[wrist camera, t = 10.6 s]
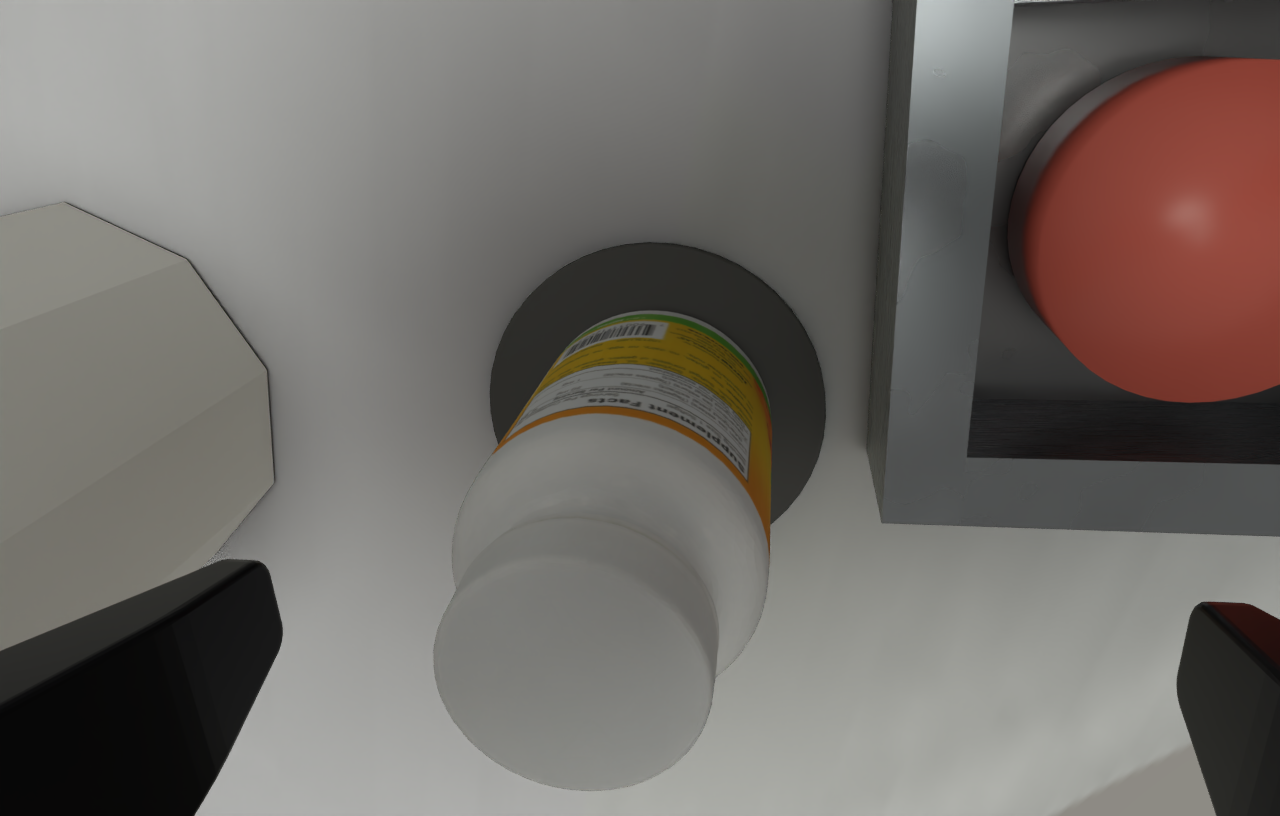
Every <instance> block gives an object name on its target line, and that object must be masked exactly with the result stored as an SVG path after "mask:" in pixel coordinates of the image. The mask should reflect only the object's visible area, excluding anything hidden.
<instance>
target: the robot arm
mask: <svg viewBox="0 0 1280 816" xmlns="http://www.w3.org/2000/svg"><path fill="white" fill-rule="evenodd" d="M282 636H283V627H282V621H281V617H280V613H279V609H278V605H277V601H276V597H275V593H274V588H273V584H272V580H271V576H270V573H269V570H268V569H267V567H266V566H265V565H264V564H263V563H261V562H260V561H256V560H236V559H226V560H221V561H218V562H216V563H213V564H211V565H208V566H206V567H204V568H201V569H199V570H196V571H194V572H191V573H189V574H187V575H184V576H182V577H179V578H177V579H174V580H172V581H169V582H167V583H165V584H162V585H160V586H157V587H155V588H152V589H150V590H147V591H145V592H143V593H140V594H138V595H135V596H133V597H130V598H128V599H125V600H123V601H121V602H118V603H116V604H113V605H111V606H108V607H106V608H104V609H101V610H99V611H96V612H94V613H91V614H89V615H86V616H84V617H82V618H79V619H77V620H74V621H72V622H69V623H67V624H64V625H62V626H60V627H57V628H55V629H52V630H50V631H47V632H45V633H42V634H40V635H38V636H35V637H33V638H30V639H28V640H25V641H23V642H21V643H18V644H16V645H13V646H11V647H8V648H6V649H3V650H1V651H0V816H194V815H195V814H196V812H197V810H198V809H199V807H200V805H201V804H202V802H203V801H204V799H205V797H206V795H207V794H208V792H209V790H210V789H211V787H212V785H213V783H214V782H215V780H216V778H217V776H218V774H219V772H220V771H221V769H222V767H223V765H224V763H225V761H226V759H227V757H228V755H229V753H230V751H231V749H232V747H233V745H234V743H235V741H236V739H237V737H238V735H239V732H240V730H241V728H242V726H243V724H244V722H245V720H246V718H247V716H248V714H249V712H250V710H251V708H252V706H253V704H254V701H255V699H256V697H257V695H258V693H259V691H260V689H261V687H262V685H263V683H264V681H265V679H266V677H267V675H268V672H269V670H270V668H271V666H272V664H273V662H274V660H275V658H276V656H277V654H278V652H279V649H280V646H281V642H282ZM1177 696H1178V701H1179V705H1180V708H1181V711H1182V714H1183V717H1184V720H1185V723H1186V726H1187V729H1188V732H1189V735H1190V738H1191V741H1192V744H1193V747H1194V750H1195V753H1196V756H1197V759H1198V762H1199V765H1200V768H1201V771H1202V774H1203V777H1204V780H1205V783H1206V786H1207V789H1208V792H1209V795H1210V798H1211V801H1212V804H1213V807H1214V810H1215V813H1216V816H1280V620H1279V619H1277V618H1275V617H1274V616H1272V615H1270V614H1268V613H1266V612H1264V611H1262V610H1260V609H1259V608H1257V607H1255V606H1253V605H1250V604H1245V603H1229V602H1201V603H1200V604H1198V605H1197V606H1195V607H1194V609H1193V611H1192V613H1191V615H1190V618H1189V623H1188V628H1187V632H1186V637H1185V642H1184V646H1183V651H1182V656H1181V660H1180V665H1179V670H1178V675H1177Z"/></svg>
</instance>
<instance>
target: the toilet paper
mask: <svg viewBox="0 0 1280 816" xmlns="http://www.w3.org/2000/svg"><path fill="white" fill-rule="evenodd" d="M273 483H274V472H273V457H272V441H271V426H270V411H269V396H268V381H267V370H266V368H265V367H264V366H263V364H262V363H261V361H260V360H259V359H258V357H257V356H256V355H255V353H254V352H253V350H252V349H251V348H250V346H249V345H248V343H247V342H246V341H245V339H244V338H243V337H242V335H241V334H240V332H239V331H238V330H237V328H236V327H235V326H234V324H233V323H232V321H231V320H230V319H229V317H228V316H227V314H226V313H225V312H224V310H223V309H222V308H221V306H220V305H219V303H218V302H217V301H216V299H215V298H214V296H213V295H212V294H211V292H210V291H209V290H208V288H207V287H206V285H205V284H204V283H203V281H202V280H201V278H200V277H199V276H198V274H197V273H196V272H195V270H194V269H193V267H192V266H191V265H190V263H189V262H188V260H187V259H185V258H183V257H180V256H178V255H176V254H174V253H172V252H170V251H168V250H165V249H163V248H161V247H159V246H157V245H155V244H153V243H150V242H148V241H146V240H144V239H142V238H140V237H137V236H135V235H133V234H131V233H129V232H127V231H125V230H122V229H120V228H118V227H116V226H114V225H112V224H110V223H107V222H105V221H103V220H101V219H99V218H97V217H95V216H92V215H90V214H88V213H86V212H84V211H82V210H79V209H77V208H75V207H73V206H71V205H69V204H67V203H64V202H63V203H59V204H54V205H50V206H45V207H41V208H36V209H32V210H28V211H23V212H19V213H14V214H10V215H5V216H1V217H0V651H1V650H3V649H6V648H8V647H11V646H13V645H16V644H18V643H21V642H23V641H25V640H28V639H30V638H33V637H35V636H38V635H40V634H42V633H45V632H47V631H50V630H52V629H55V628H57V627H60V626H62V625H64V624H67V623H69V622H72V621H74V620H77V619H79V618H82V617H84V616H86V615H89V614H91V613H94V612H96V611H99V610H101V609H104V608H106V607H108V606H111V605H113V604H116V603H118V602H121V601H123V600H125V599H128V598H130V597H133V596H135V595H138V594H140V593H143V592H145V591H147V590H150V589H152V588H155V587H157V586H160V585H162V584H165V583H167V582H169V581H172V580H174V579H177V578H179V577H182V576H184V575H187V574H189V573H191V572H194V571H196V570H199V569H200V568H201V567H202V566H203V565H204V564H205V563H206V562H207V561H208V560H210V559H211V558H212V557H213V556H214V555H215V554H216V553H217V552H218V550H219V549H220V548H221V547H222V546H223V544H224V543H225V542H226V541H227V539H228V538H229V537H230V536H231V535H232V533H233V532H234V531H235V530H236V528H237V527H238V526H239V525H240V524H241V522H242V521H243V520H244V519H245V517H246V516H247V515H248V514H249V513H250V511H251V510H252V509H253V508H254V507H255V505H256V504H257V503H258V502H259V500H260V499H261V498H262V497H263V496H264V494H265V493H266V492H267V491H268V489H269V488H270V487H271V486H272V485H273Z"/></svg>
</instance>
